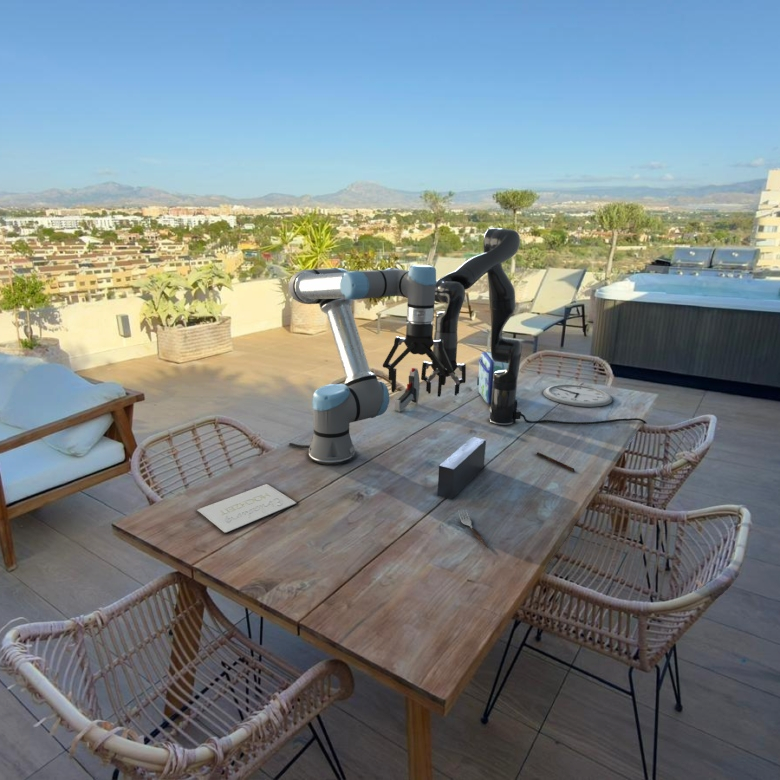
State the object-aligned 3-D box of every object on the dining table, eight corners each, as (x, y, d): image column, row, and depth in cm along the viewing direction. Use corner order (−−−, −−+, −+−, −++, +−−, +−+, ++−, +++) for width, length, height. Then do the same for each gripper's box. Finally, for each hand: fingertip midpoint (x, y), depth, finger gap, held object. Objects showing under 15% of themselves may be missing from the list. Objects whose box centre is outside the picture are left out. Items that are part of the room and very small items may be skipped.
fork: (482, 550, 123) (483, 543, 123) (456, 516, 138) (457, 509, 138) (492, 549, 124) (493, 542, 124) (465, 515, 139) (466, 508, 138)
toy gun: (393, 376, 211) (414, 366, 222) (394, 412, 217) (415, 401, 228) (398, 377, 210) (419, 367, 221) (399, 414, 216) (419, 402, 227)
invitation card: (266, 483, 153) (296, 502, 143) (266, 484, 153) (296, 503, 143) (197, 509, 139) (225, 532, 129) (197, 510, 139) (225, 533, 129)
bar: (470, 463, 170) (472, 436, 167) (483, 466, 167) (486, 439, 165) (437, 495, 149) (438, 465, 146) (452, 499, 147) (453, 469, 144)
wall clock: (625, 402, 226) (558, 403, 224) (625, 406, 227) (558, 407, 224) (594, 383, 255) (534, 383, 252) (593, 386, 255) (534, 386, 253)
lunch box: (475, 390, 246) (478, 346, 240) (498, 390, 246) (501, 347, 240) (484, 408, 221) (487, 360, 215) (509, 409, 221) (513, 360, 215)
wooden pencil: (536, 454, 177) (536, 452, 176) (537, 454, 177) (537, 451, 177) (573, 471, 165) (573, 468, 164) (574, 471, 165) (574, 468, 165)
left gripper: (373, 321, 146) (372, 392, 152) (463, 327, 141) (457, 401, 148) (379, 316, 153) (377, 385, 159) (465, 322, 148) (459, 393, 155)
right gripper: (421, 346, 163) (419, 395, 167) (467, 348, 161) (464, 398, 165) (423, 341, 170) (421, 389, 175) (468, 343, 168) (464, 392, 172)
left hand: (416, 393), depth 154 cm, fingers open, 13 cm apart
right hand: (442, 393), depth 170 cm, fingers open, 8 cm apart
